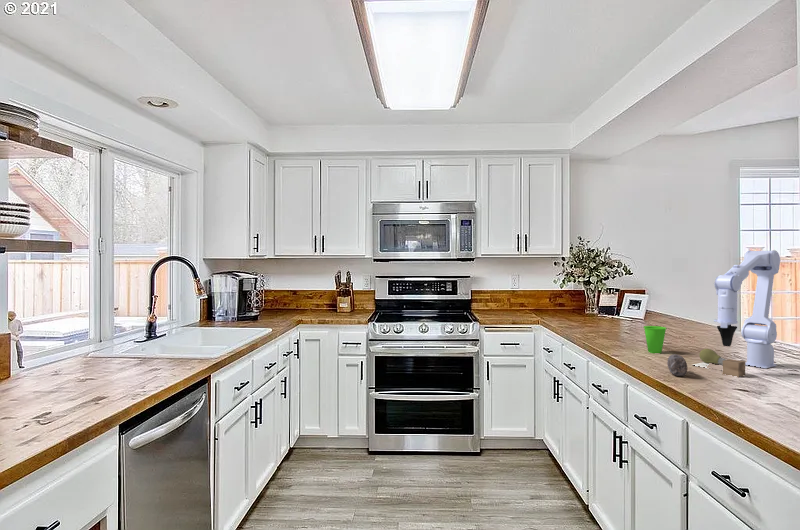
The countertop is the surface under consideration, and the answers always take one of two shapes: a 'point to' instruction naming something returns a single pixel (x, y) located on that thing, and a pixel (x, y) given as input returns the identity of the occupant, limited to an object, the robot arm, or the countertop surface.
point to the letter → (702, 364)
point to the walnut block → (734, 367)
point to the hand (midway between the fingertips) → (726, 346)
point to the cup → (654, 338)
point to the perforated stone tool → (677, 365)
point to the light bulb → (710, 356)
